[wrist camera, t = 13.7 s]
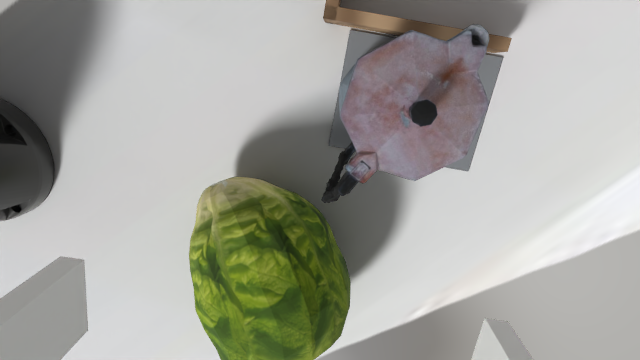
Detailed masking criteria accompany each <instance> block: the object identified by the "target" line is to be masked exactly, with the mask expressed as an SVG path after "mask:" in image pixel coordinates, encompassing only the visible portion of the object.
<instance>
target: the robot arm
mask: <svg viewBox="0 0 640 360" xmlns="http://www.w3.org/2000/svg"><path fill="white" fill-rule="evenodd" d="M53 178H54V165H53V159H52V155H51V151H50V149H49V146H48V144H47V142H46V140H45V138H44V136H43V134H42V133H41V131H40V130H39V129H38V127H37V126H36V125H35V124H34V122H33V121H32V120H31V119H30V118H29V117H28V116H27V115H26V114H24V113H23V112H22V111H21V110H19V109H18V108H17V107H15V106H13V105H12V104H10V103H8V102H6V101H4V100H1V99H0V221H5V220H9V219H13V218H16V217H18V216H20V215H22V214H25V213H27V212H29V211H31V210H33V209H35V208H36V207H38V206H39V205H40V204H41V203H42V202H43V201H44V200H45V199H46V197H47V196H48V194H49V192H50V190H51V187H52V183H53ZM87 331H88V321H87V302H86V284H85V266H84V260H82V259H75V258H68V257H61V256H60V257H59V258H58V259H56V260H55V261H53V262H52V263H51V264H49V265H48V266H46V267H45V268H43V269H42V270H41V271H39V272H38V273H36V274H35V275H33V276H32V277H31V278H29V279H28V280H26V281H25V282H23V283H22V284H21V285H19V286H18V287H16V288H15V289H14V290H12V291H11V292H9V293H8V294H6V295H5V296H4V297H2V298H1V299H0V360H61V359H62V358H63V357H64V355H65V354H66V353H67V352H68V351H69V350H70V349H71V348H72V347H73V346H74V345H75V344H76V343H77V341H78V340H79V339H80V338H81V337H82V336H83V335H84V334H85V333H86V332H87ZM471 360H534V359H533V358H532V356H531V355H530V353H529V352H528V350H527V349H526V347H525V346H524V345H523V343H522V341H521V340H520V338H519V337H518V335H517V334H516V332H515V331H514V329H513V328H512V326H511V325H510V323H509V322H508V321H502V320H495V319H488V318H485V319H484V322H483V325H482V328H481V332H480V335H479V338H478V341H477V344H476V347H475V350H474V353H473V356H472V359H471Z"/></svg>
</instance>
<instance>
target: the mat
mask: <svg viewBox="0 0 640 360" xmlns="http://www.w3.org/2000/svg"><path fill="white" fill-rule="evenodd" d="M393 39H395V38H392V37H387V36H381V35H376V34H370V33H365V32H359V31H354V30H350V34H349V39H348V44H347V50H346V55H345V61H344V66H343V71H342V77H341V82H342V80H343V79H344V78H345V76H346V75H347V74H348V72H349V71H350V70H351V68H352V67H353V66H354V65H355V63H356V60H357V59H358V58H359V57H361V56H363V55H365V54H367V53H369V52H371V51H372V50H374V49H376V48H378V47H380V46H382V45H384V44H386V43H387V42H389V41H391V40H393ZM502 59H503V57H497V56H492V55H486V54H485V56H484V58H483V60H482V62H481V65H480V67H479V70H478V74H479V77H480V80H481V82H482V85H483V87H484V90H485V92H486V95H487V98H488V101H489V102H490V98H491V95H492V92H493V89H494V85H495V82H496V79H497V76H498V72H499V69H500V66H501V62H502ZM341 82H340V83H341ZM486 112H487V111H486ZM339 114H340V112H339V93H338V98H337V104H336V109H335V115H334V120H333V125H332V131H331V136H330V142H329V146H334V147H339V148H345V149H346V148H347V147H348V146H349V145H350V143H351V142H352V140H351V138H350V136H349V134H348V132H347V130H346V128H345V126H344V124H343V122H342V120H341V118H340V115H339ZM485 115H486V113H485ZM485 115H484V117H483V119H482V121H481V123H480V125H479V128H478V130H477V132H476V134H475V137H474V139H473V141H472V144H471V146H470V148H469V151H468V153H467V155H466V156H465V157H464V158H462V159H460V160H458V161H456V162H454V163H452V164H450V165H448V166H446V167H447V168H452V169H457V170H463V171H468V170H469V167H470V164H471V161H472V157H473V154H474V151H475V148H476V144H477V141H478V138H479V134H480V131H481V128H482V125H483V121H484V118H485Z"/></svg>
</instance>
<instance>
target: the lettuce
mask: <svg viewBox="0 0 640 360" xmlns="http://www.w3.org/2000/svg"><path fill="white" fill-rule="evenodd" d="M189 260H190V271H191V276H192V281H193V286H194V296H195V308H196V312H197V314H198V317H199V319H200V321H201V323H202V325H203V327H204V330H205V331H206V333H207V335H208V336H209V338H210V339H211V341H212V343H213V344H214V346H215V347H216V349H217V351H218V354H219V356H220V359H221V360H314V359H315V358H317V357H318V356H319V355H321V354H322V353H323V352H325V351H326V350H327V349H328V348H330V347H331V346H332V345H333V344H334V343H335V341H336V340H337V339H338V338H339V337H340V336H341V333H342V330H343V327H344V324H345V320H346V317H347V313H348V310H349V307H350V278H349V274H348V270H347V266H346V262H345V260H344V258H343V256H342V254H341V252H340V250H339V248H338V246H337V244H336V241H335V238H334V236H333V233H332V231H331V228H330V226H329V224H328V222H327V221H326V219H325V218H324V216H323V215H322V213H321V212H320V211H319V210H318V209H317V208H315V207H314V206H313V205H312V204H311V203H310V202H309V201H307V200H306V199H304V198H302V197H301V196H299V195H298V194H296V193H294V192H291V191H288V190H286V189H283V188H280V187H278V186H275V185H273V184H271V183H268V182H266V181H263V180H260V179H254V178H246V177H232V178H229V179H226V180H223V181H220V182H218V183H216V184H213V185H211V186H210V187H208V188H206V189H205V190H204V191H203V193H202V195H201V197H200V199H199V203H198V206H197V213H196V223H195V226H194V230H193V233H192V236H191V240H190V251H189Z"/></svg>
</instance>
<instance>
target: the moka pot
mask: <svg viewBox="0 0 640 360" xmlns="http://www.w3.org/2000/svg"><path fill="white" fill-rule="evenodd" d="M488 43H489V34H488V31H487V30H486V29H485V28H483V27H482V26H481V25H478V24H472V25H470V26H469V27H467V28H466V29H464V30H463V31H462V32H460V33H459V34H457V35H456V36H454V37H452V38H451V39H449V40H447V41H444V40H440V39H437V38H434V37H431V36H429V35H426V34H423V33H420V32H417V31H414V30H409V31H408V32H406V33H404V34H402V35H400V36H398V37H397V38H395V39H393V40H391V41H389V42H387V43H386V44H384V45H382V46H380V47H378V48H376V49H374V50H372V51H371V52H369V53H367V54H365V55H363V56H361V57H359V58H358V59H357V60H356V63H355V65H354V66H353V67H352V68H351V70H350V71H349V72H348V74H347V75H346V76H345V78H344V79H343V80H342V82H341V83H340V88H339V112H340V114H339V115H340V118H341V120H342V122H343V124H344V126H345V128H346V130H347V132H348V134H349V136H350V138H351V140H352V142H351V143H350V145H349V146H348V147H347V148H346V149H345V151H343V152H341V153H340V156H339V157H338V158H339V160H338V163H337V165H336V167H335V171H334V173H333V174H332V177H331V179H329V182H328V183H327V187H326V191H325V193H324V194H323V197H322V201H323V202H324V203H326V202H327V203H330V202H333V201H337V200H338V198H339V197H340V195H341V196H344V195H346V194H348V193H350V191H351V190H352V189H353V188H354V187H355V185H356V184H357V183H358V182H360V183H365V182H366V181H367V180H368V179H369V178H370V177H371V176H372V175H373V174H374V173H375V172H376V171H377V170H380V171H384V172H387V173H390V174H393V175H396V176H399V177H402V178H405V179H409V180H414V181H416V180H418V179H420V178H422V177H424V176H427V175H429V174H431V173H433V172H435V171H437V170H439V169H441V168H443V167H446V166H448V165H450V164H452V163H454V162H456V161H458V160H460V159H462V158H464V157H465V156H466V155H467V153H468V151H469V148H470V146H471V144H472V141H473V139H474V137H475V134H476V132H477V130H478V128H479V125H480V123H481V121H482V119H483V117H484V115H485V113H486V111H487V108H488V105H489V101H488V98H487V95H486V92H485V90H484V87H483V85H482V82H481V80H480V77H479V74H478V70H479V67H480V65H481V62H482V60H483V58H484V56H485V54H486V52H487V46H488ZM355 151H356V155H355V156H354V157H353V158H351V160H350V161H349V162H348V160H349V159H350V157H351V156H352V154H353V153H354V152H355ZM345 164H347V165H346V166H345V169H346V170H347V171H346V173H345V174H344V175H343V177H342V178H341V179H340V173H341V171H342V170H343V166H344V165H345ZM339 179H340V181H339ZM338 181H339V182H338Z"/></svg>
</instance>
